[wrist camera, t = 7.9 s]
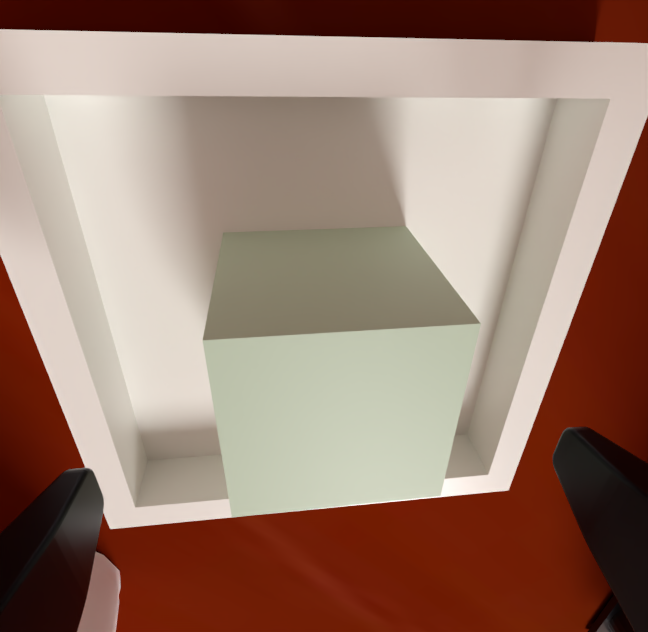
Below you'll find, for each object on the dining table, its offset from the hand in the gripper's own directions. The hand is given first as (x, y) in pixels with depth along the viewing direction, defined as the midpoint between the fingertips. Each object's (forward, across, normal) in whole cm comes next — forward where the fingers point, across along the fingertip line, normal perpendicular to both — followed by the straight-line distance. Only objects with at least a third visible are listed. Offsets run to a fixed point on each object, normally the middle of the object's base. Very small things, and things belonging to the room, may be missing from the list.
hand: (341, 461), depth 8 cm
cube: (+6, 0, 0) cm, 6 cm away
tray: (+6, 0, 0) cm, 6 cm away
